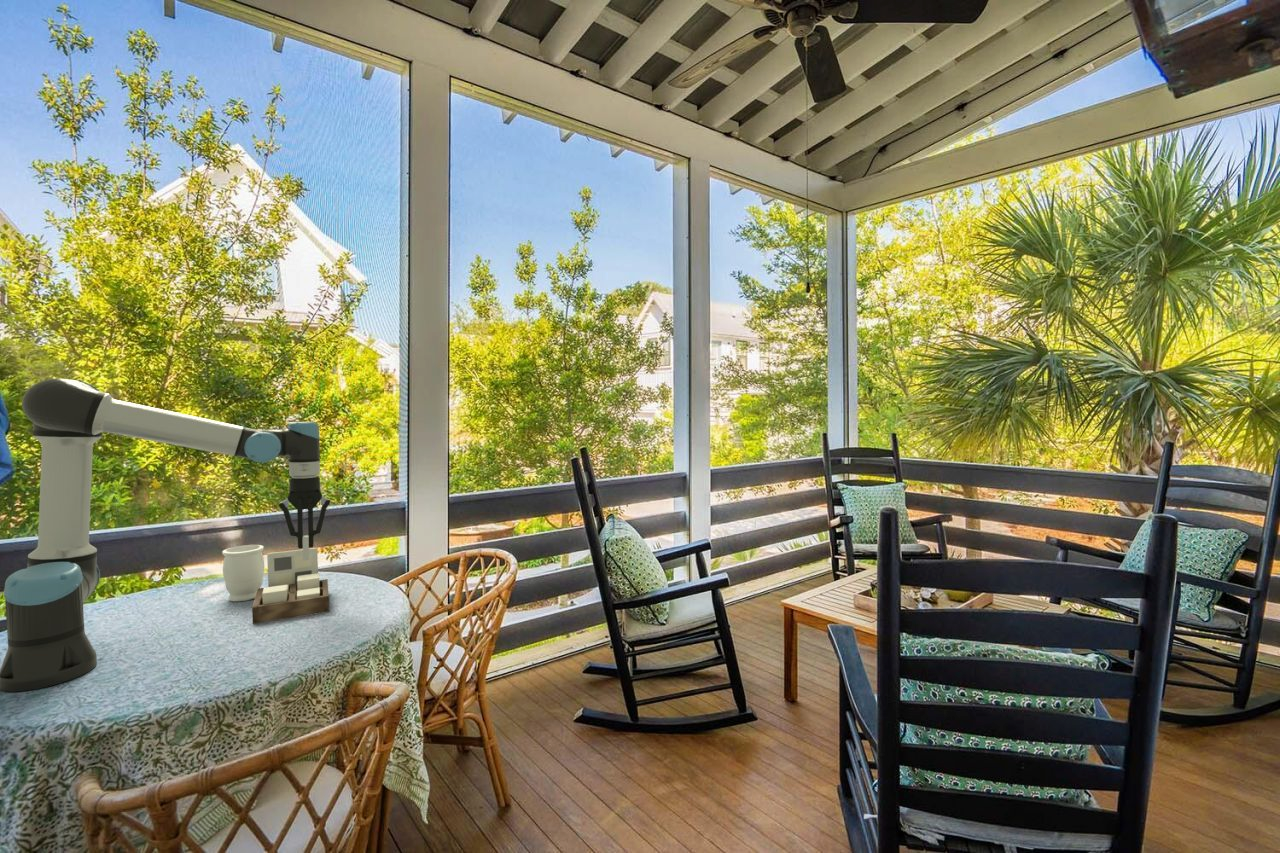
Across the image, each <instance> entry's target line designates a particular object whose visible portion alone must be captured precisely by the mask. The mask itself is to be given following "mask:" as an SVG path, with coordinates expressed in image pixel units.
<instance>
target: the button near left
mask: <svg viewBox="0 0 1280 853" xmlns="http://www.w3.org/2000/svg"><path fill="white" fill-rule="evenodd" d="M263 588H264V589H263V593H262V599H263V604H270V603H276V602H283V601H287V600H288V592H287V585H280V586H273V587H268V586H267V587H263Z"/></svg>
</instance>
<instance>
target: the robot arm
mask: <svg viewBox="0 0 1280 853" xmlns="http://www.w3.org/2000/svg"><path fill="white" fill-rule="evenodd" d="M21 407H22V411H23V414H24V416H25V417H27V419H28V420H29V421H30V422H32V438H33V439H35V440H36V441H38V442H40V444H41V461H40V462H41V463H40V482H39V483H40V484H39V485H40V486H39V505H38V506H39V509H38V510H39V511H38V533H37V534H38V535H37V547H36V548H35V549H34V550H32V551H31V552H30V553H28V555H27V567H25V568H22V569H19V570H17V571H14V572H13V573H11V574H10V575H9V576H8V577H7V578H6V580H5V583H4V589H3V597H4V602H5V617H6V632H7V651H6V653H5V656H4V659H3V661H2V663H1V667H0V691H3V692H9V693H10V692H12V693H13V692H14V693H15V692H26V691H32V690H37V689H42V688H46V687H51V686H55V685H59V684H61V683H65V682H67V681H70V680H71V681H72V680H73V679H74V680H75V679H77V678H79V677H80V676H83V675H85V674H87V673H89V672H91V671H92V670H93V669H94V668H95V667H96V666H97V665H98V661H97V660H98V658H97V657H98V656H97V653H96V651H95V648H94V647H93V646H92V644H91V641H90V640H89V638H88V636H87V633H86V632H85V619H84V618H85V615H84V614H85V613H84V603H85V601H87V599H89V597H90V596H91V595H92V594H93V593H94V592H95V591H96V589H97V588H98V585H99V582H100V580H101V572H100V568H99V566H98V563H97V562H98V561H97V560H98V548H97V547H95V546H94V545H92V544H91V543H90V523H91V522H90V521H91V501H92V500H91V497H92V479H93V478H92V474H93V473H92V471H93V453H94V452H93V450H94V447H93V446H94V444H95V443H96V442H98V441H99V440H101V439H102V438H103V433H107V434H114V435H118V436H124V437H129V438H134V439H140V440H146V441H151V442H156V443H157V442H158V443H163V444H168V445H172V446H173V445H174V446H178V447H185V448H188V449H189V448H190V449H195V450H199V451H206V452H212V453H217V454H223V455H227V456H233V457H237V458H242V459H247V460H252V462H256V463H268V462H270V461H272V460H274V459H276V458H277V457H288V472H289V474H288V475H289V476H290V478H289V480H288V481H289V482H288V483H289V485H288V487H289V489H288V490H289V492H288V495H287V498H286V499H285V500H282V501H279V503H278V507H279V509H281V511H282V512H283V516H284V518H285V522H286V525H287V529H288V531H289V534H290V537H296V538H297V548H298V550H302V549H303V561H305V560H309V549H310V548H314V537H315V536H316V535H318V534H321V530H322V527H323V523H324V519H325V516H326V512H327V508H328V507H329V505H330V504H331V499H330V498H326V497H324V496H323V494H322V492H321V477H320V476H319V475H320V474H321V462H320V460H321V459H320V457H321V456H320V446H321V444H320V439H321V438H320V426H319V424H318V423H317V422H315V421H290V422H289V423H288V425H287V428H283V429H255V428H250V427H244V426H240V425H236V424H231V423H226V422H221V421H217V420H212V419H208V418H203V417H198V416H193V415H189V414H183V413H180V412H175V411H171V410H165V409H161V408H156V407H151V406H147V405H143V404H139V403H138V404H137V403H133V402H128V401H123V400H118V399H114V398H113V396H112V395H111V393H107V392H102V391H101V390H99V388H97V387H95V386H94V385H93V384H90V383H88V382H86V381H83V380H77V379H66V378H50V379H45V380H42V381H39V382H37V383H35V384H33V385H31V386H30V387H29V388H28V389H27V390H26V392H25V393H24V395H23V396H22V402H21ZM319 503H320V505H321V508H320V512H319V516H318V519H317V523H316V528H315V529H314V509H315V507H316V506H317V504H319ZM290 504H291V505H292V507H293V508H294V509H296V511H297V513H296V514H297V516H296V517H297V530H296V529H295V525H294V522H293V519H292V517H291V513H290V510H289V506H290ZM304 510H307V523H308V524H307V525H308V527H307V529H308V534H307V535H304V530H303V529H304V526H303V525H304V523H303V518H304V517H303V514H304V513H303V511H304Z"/></svg>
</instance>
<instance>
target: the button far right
mask: <svg viewBox="0 0 1280 853" xmlns="http://www.w3.org/2000/svg"><path fill="white" fill-rule="evenodd" d="M319 580H320V572H318V573H316V574H308V575H301V576H298V578H297V589H298V590H305V589H312V588H319V587H320V585H319Z"/></svg>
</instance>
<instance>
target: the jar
mask: <svg viewBox="0 0 1280 853" xmlns="http://www.w3.org/2000/svg"><path fill="white" fill-rule="evenodd" d="M264 549H265V548H264V545H261V544H247V545H237V546H232V547H228V548H225V549H224V550H222V555H223V556H224V558H223V562H222V575H223V579H224V584H225V588H226V591H227V592H228V593H229V596H228V597H227V600H228V601H229V602H245V601H251V600H253V599H254V600H255V597H256V593H257V590H258V589H260V588H262V584H263V581H264V575H265V574H264V573H265V559H264V555H263V550H264Z"/></svg>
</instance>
